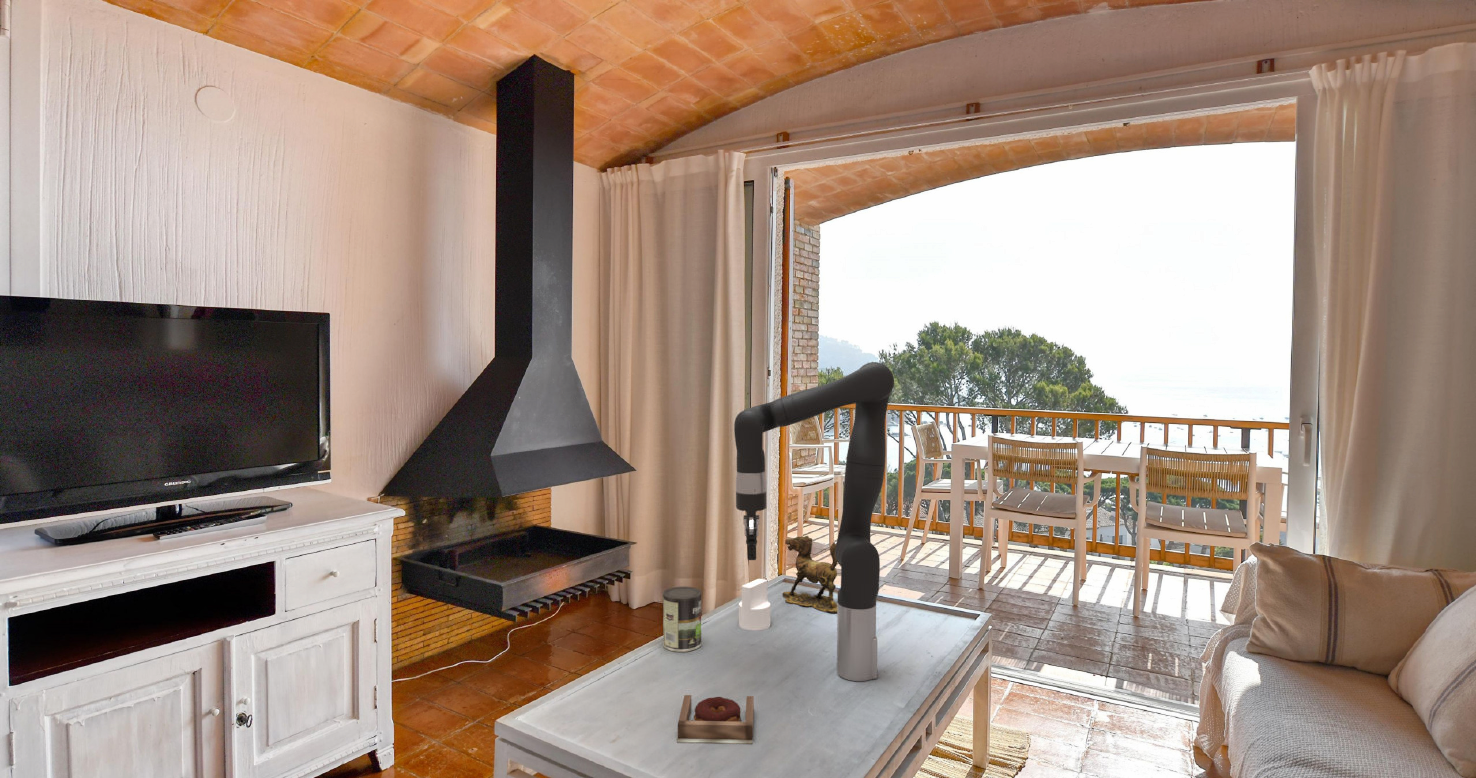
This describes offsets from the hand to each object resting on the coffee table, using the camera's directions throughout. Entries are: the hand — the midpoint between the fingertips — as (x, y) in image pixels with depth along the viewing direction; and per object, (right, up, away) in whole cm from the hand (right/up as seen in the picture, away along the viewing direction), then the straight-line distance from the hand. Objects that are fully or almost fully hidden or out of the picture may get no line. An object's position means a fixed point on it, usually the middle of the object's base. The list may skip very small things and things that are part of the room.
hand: (751, 559), depth 180 cm
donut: (-8, -28, -27) cm, 40 cm away
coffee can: (-18, -26, +14) cm, 35 cm away
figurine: (+20, -25, +46) cm, 56 cm away
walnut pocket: (-8, -28, -28) cm, 40 cm away
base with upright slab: (+1, -25, +28) cm, 38 cm away
